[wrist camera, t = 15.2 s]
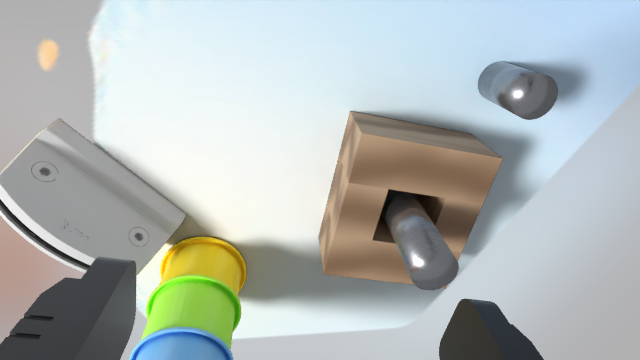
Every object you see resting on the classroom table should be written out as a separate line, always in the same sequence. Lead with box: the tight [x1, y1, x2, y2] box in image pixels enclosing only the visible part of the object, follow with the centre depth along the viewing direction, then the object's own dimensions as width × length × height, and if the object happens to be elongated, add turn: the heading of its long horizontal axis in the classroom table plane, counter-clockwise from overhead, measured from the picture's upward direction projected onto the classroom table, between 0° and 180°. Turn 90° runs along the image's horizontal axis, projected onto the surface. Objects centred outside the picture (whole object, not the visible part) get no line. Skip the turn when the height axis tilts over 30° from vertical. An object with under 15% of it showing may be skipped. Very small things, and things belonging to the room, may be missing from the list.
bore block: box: [319, 111, 503, 288], centre depth 42 cm, size 16×14×7 cm
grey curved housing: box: [0, 118, 186, 275], centre depth 39 cm, size 17×5×10 cm, turn 42°
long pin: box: [382, 189, 458, 290], centre depth 38 cm, size 4×4×15 cm
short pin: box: [478, 62, 558, 120], centre depth 37 cm, size 4×4×7 cm
